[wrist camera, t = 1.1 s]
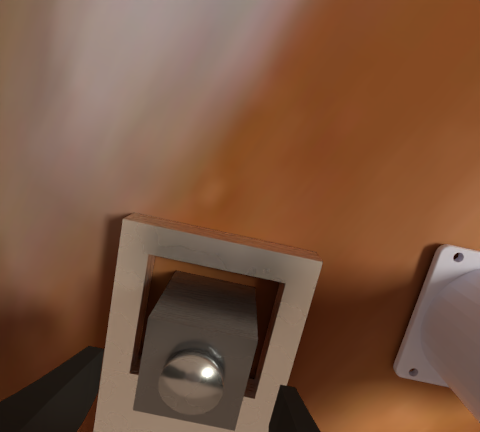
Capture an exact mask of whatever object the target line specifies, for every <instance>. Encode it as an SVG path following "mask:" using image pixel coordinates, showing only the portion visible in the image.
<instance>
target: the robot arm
mask: <svg viewBox="0 0 480 432" xmlns="http://www.w3.org/2000/svg"><path fill="white" fill-rule="evenodd" d="M456 253H459V256H458V257H457V258H456V259H453V257H454V255H455V254H456ZM103 353H104V349H102V348H97V347H92V346H88V347H86V348H85V349H83V350H82V351H80V352H79V353H77V354H76V355H75V356H73V357H72V358H70V359H69V360H67V361H66V362H64V363H63V364H61V365H60V366H58V367H57V368H55V369H54V370H52V371H51V372H49V373H48V374H46V375H45V376H43V377H42V378H40V379H39V380H37V381H35V382H34V383H32V384H30V385H29V386H27V387H25V388H24V389H22V390H20V391H19V392H17V393H15V394H14V395H12V396H10V397H8V398H7V399H5V400H3V401H1V402H0V432H77V430H78V429H79V427H80V426H81V424H82V422H83V421H84V419H85V417H86V415H87V413H88V411H89V409H90V408H91V406H92V403H93V401H94V399H95V397H96V395H97V393H98V389H99V382H100V374H101V367H102V360H103ZM413 368H414V370H413V371H411V372H409V371H410V370H411V369H413ZM393 369H394V371H395V373H396V374H397V375H398V376H399V377H402V378H406V379H411V380H416V381H421V382H426V383H430V384H435V385H440V386H445V387H450V388H451V389H452V391H453V392H454V393H455V394H456V395H457V397H458V398H459V399H460V400H461V401H462V402H463V404H464V405H465V406H466V407H467V408H468V410H469V411H470V412H471V413H472V414H473V416H474V417H475V418H476V419H477V420H478V421H479V423H480V251H477V250H472V249H468V248H463V247H458V246H454V245H449V244H444V245H441V246H440V247H438V248H437V250H436V252H435V255H434V258H433V260H432V263H431V266H430V268H429V271H428V274H427V276H426V279H425V282H424V284H423V287H422V290H421V292H420V295H419V298H418V300H417V303H416V306H415V309H414V311H413V314H412V317H411V319H410V322H409V325H408V327H407V330H406V333H405V335H404V338H403V341H402V343H401V346H400V349H399V351H398V354H397V357H396V359H395V362H394V365H393ZM269 432H320V430H319V428H318V427H317V425H316V423H315V422H314V420H313V418H312V417H311V415H310V413H309V411H308V410H307V408H306V406H305V404H304V402H303V401H302V399H301V397H300V395H299V393H298V392H297V390H296V388H295V387H290V386H285V385H280V387H279V391H278V394H277V398H276V401H275V405H274V408H273V412H272V415H271V419H270V422H269Z"/></svg>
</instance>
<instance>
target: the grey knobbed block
mask: <svg viewBox="0 0 480 432" xmlns="http://www.w3.org/2000/svg"><path fill="white" fill-rule="evenodd" d="M257 343H258V330H257V312H256V293H255V287H252V286H247V285H242V284H238V283H233V282H228V281H223V280H219V279H214V278H209V277H205V276H200V275H195V274H190V273H186V272H181V271H175V273H174V275H173V276H172V278H171V280H170V282H169V283H168V285H167V287H166V288H165V290H164V292H163V294H162V295H161V297H160V299H159V300H158V302H157V304H156V305H155V307H154V309H153V311H152V312H151V314H150V316H149V317H148V322H147V328H146V334H145V340H144V346H143V352H142V358H141V364H140V369H139V375H138V381H137V387H136V393H135V399H134V405H133V410H134V411H139V412H144V413H149V414H153V415H158V416H163V417H168V418H173V419H178V420H183V421H188V422H193V423H198V424H203V425H208V426H213V427H218V428H223V429H228V430H233V431H235V428H236V424H237V420H238V417H239V413H240V409H241V405H242V401H243V397H244V393H245V389H246V386H247V382H248V378H249V374H250V370H251V366H252V362H253V358H254V355H255V351H256V347H257Z"/></svg>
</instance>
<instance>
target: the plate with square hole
mask: <svg viewBox="0 0 480 432" xmlns="http://www.w3.org/2000/svg"><path fill="white" fill-rule="evenodd" d="M155 256H160V257H165V258H169V259H174V260H179V261H183V262H188V263H193V264H197V265H202V266H207V267H211V268H216V269H221V270H226V271H230V272H235V273H240V274H244V275H249V276H254V277H258V278H263V279H268V280H272V281H277V282H280V283H279V287H278V291H277V295H276V298H275V302H274V306H273V310H272V314H271V317H270V321H269V325H268V329H267V333H266V336H265V340H264V344H263V348H262V351H261V355H260V359H259V363H258V367H257V370H256V374H255V378H254V379H251V378H248V382H247V386H246V389H245V393H244V397H243V401H242V405H241V409H240V413H239V417H238V420H237V424H236V428H235V431H233V430H228V429H223V428H218V427H213V426H208V425H203V424H198V423H193V422H188V421H183V420H178V419H173V418H168V417H163V416H158V415H153V414H149V413H144V412H139V411H134V410H133V405H134V399H135V393H136V387H137V381H138V375H139V369H140V364H141V358H142V356H139V351H140V345H141V339H142V333H143V327H144V321H145V315H146V309H147V303H148V297H149V291H150V285H151V279H152V273H153V267H154V261H155ZM322 263H323V261H322V260H321V258H320V257H319V255H318V254H317V252H314V251H309V250H304V249H300V248H295V247H290V246H286V245H281V244H276V243H272V242H267V241H263V240H258V239H253V238H249V237H244V236H239V235H235V234H230V233H226V232H221V231H216V230H212V229H207V228H202V227H198V226H193V225H189V224H184V223H179V222H175V221H170V220H165V219H161V218H156V217H152V216H147V215H142V214H138V213H132V214H131V215H129V216H127V217H125V218H124V219H123V221H122V229H121V236H120V243H119V250H118V257H117V265H116V272H115V279H114V286H113V293H112V301H111V308H110V315H109V322H108V329H107V337H106V344H105V351H104V358H103V365H102V373H101V380H100V387H99V394H98V402H97V409H96V416H95V423H94V430H93V432H269V422H270V419H271V415H272V412H273V408H274V405H275V401H276V398H277V394H278V391H279V387H280V385H285V386H287V383H288V380H289V376H290V373H291V370H292V366H293V363H294V359H295V356H296V352H297V349H298V346H299V342H300V339H301V335H302V332H303V328H304V325H305V322H306V318H307V315H308V311H309V308H310V304H311V301H312V298H313V294H314V291H315V287H316V284H317V280H318V277H319V274H320V270H321V267H322Z"/></svg>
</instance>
